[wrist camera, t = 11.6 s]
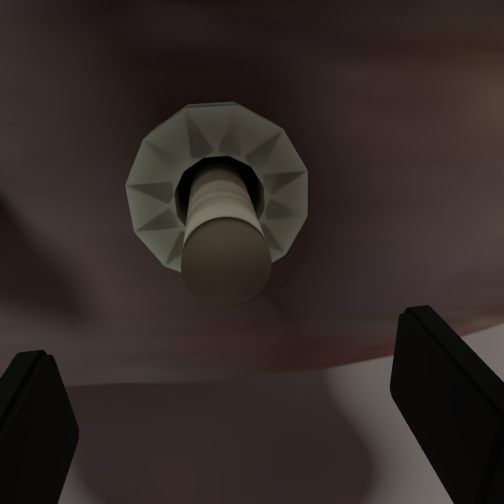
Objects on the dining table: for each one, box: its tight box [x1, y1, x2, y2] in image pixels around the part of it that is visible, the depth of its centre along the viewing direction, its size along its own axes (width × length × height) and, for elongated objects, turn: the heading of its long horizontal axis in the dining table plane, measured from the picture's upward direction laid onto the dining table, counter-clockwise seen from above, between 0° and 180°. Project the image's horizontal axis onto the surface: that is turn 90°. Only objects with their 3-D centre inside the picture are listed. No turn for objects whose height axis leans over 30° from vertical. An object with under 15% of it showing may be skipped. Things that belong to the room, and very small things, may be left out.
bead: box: [125, 101, 308, 272], centre depth 28 cm, size 12×12×4 cm
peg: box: [181, 160, 272, 306], centre depth 23 cm, size 4×4×14 cm
